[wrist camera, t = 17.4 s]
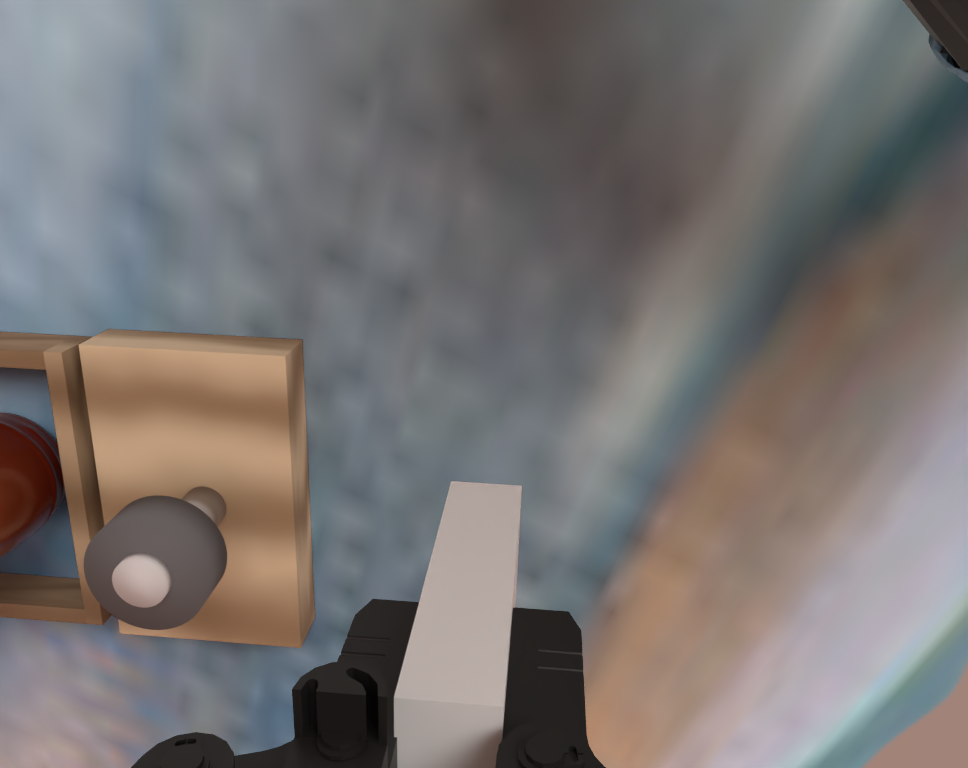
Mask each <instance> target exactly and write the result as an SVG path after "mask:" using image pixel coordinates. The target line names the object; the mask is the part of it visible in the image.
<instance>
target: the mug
mask: <svg viewBox="0 0 968 768" xmlns="http://www.w3.org/2000/svg"><path fill="white" fill-rule="evenodd" d="M65 495H66V492H65V486H64V479H63V473H62V467H61V461H60V454H59V448H58V444H57V442H56V441H55V440H54V439H53V438H52V436H51V435H50V434H49V433H48V432H46V431H45V430H44V429H43V428H42V427H40V426H39V425H37V424H36V423H34V422H32V421H30V420H28V419H26V418H24V417H21V416H18V415H15V414H10V413H0V559H1V558H2V557H3V556H5V555H6V554H7V553H9V552H10V551H11V550H13V549H14V548H15V547H17V546H18V545H19V544H20V543H22V542H23V541H24V540H25V539H27V538H28V537H29V536H30V535H31V534H32V533H34V532H35V531H37V530H38V529H40V528H41V527H42V526H43V525H44V524H46V522H47V521H48V520H49V519H50V517H51V516H52V515H53V514H54V513H55V511H56V510H57V509H58V507H59V505H60V504H61V502H62V501H63V499H64V498H65Z"/></svg>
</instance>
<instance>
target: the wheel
mask: <svg viewBox="0 0 968 768" xmlns="http://www.w3.org/2000/svg"><path fill="white" fill-rule="evenodd" d="M226 565H227V549H226V544H225V541H224V538H223V536H222V534H221V532H220V530H219V529H218V527H217V526H216V524H215V523H214V522H213V521H212V519H211V518H210V517H209V516H208V515H207V514H205V513H204V512H203V511H202V510H200V509H199V508H197V507H196V506H194V505H193V504H191V503H189V502H187V501H184V500H181V499H179V498H175V497H171V496H163V495H154V496H147V497H143V498H139V499H137V500H134V501H133V502H131V503H129V504H128V505H127V506H125V507H124V508H123V509H122V510H121V511H120V512H119V513H118V514H117V515H116V516H115V517H113V518H112V519H111V520H110V521H109V522H108V523H107V524H106V525H105V526H104V527H103V528H102V529H101V530H100V531H99V532H98V533H97V534H96V535H95V536H94V537H93V538H92V539H91V541H90V543H89V544H88V546H87V549H86V551H85V556H84V564H83V566H84V574H85V578H86V581H87V584H88V587H89V589H90V590H91V592H92V594H93V595H94V597H95V598H96V600H97V601H98V602H99V603H100V604H101V606H102V607H104V608H105V609H106V610H107V611H108V612H109V613H110V614H112V615H113V616H115V617H116V618H118V619H119V620H121V621H123V622H125V623H127V624H130V625H132V626H135V627H139V628H143V629H149V630H166V629H171V628H175V627H178V626H181V625H183V624H185V623H187V622H188V621H189V620H191V619H192V618H193V617H194V616H195V615H196V614H197V613H198V612H199V611H200V609H201V608H202V606H203V605H204V603H205V602H206V600H207V599H208V597H209V596H210V595H211V593H212V592H213V590H214V589H215V587H216V586H217V584H218V583H219V581H220V580H221V579H222V577H223V575H224V572H225V569H226Z"/></svg>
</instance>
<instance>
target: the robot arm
mask: <svg viewBox="0 0 968 768" xmlns="http://www.w3.org/2000/svg"><path fill="white" fill-rule="evenodd" d="M903 1H904V3H905V4H906V5H907V6H908V8H909V9H910V10H911V11H912V13H913V14H914V15H915V16H916V18H917V19H918V20H919V21H920V23H921V24H922V25H923V26H924V27H925V29H926V30H927V31H928V32H929V34H930V35H929V44H930V47H931V49H932V50H933V52H934V54H935V55H936V57H937V58H938V60H939V61H940V62H941V64H942V65H943V66H944V67H945V68H946V69H948V70H949V71H950V72H951V73H954V74H956V75H958V76H959V77H960V78H961V79H963V80H964V81H965V82H968V0H903ZM521 492H522V486H517V485H502V484H486V483H471V482H456V481H451V484H450V488H449V492H448V495H447V499H446V503H445V507H444V510H443V514H442V518H441V522H440V526H439V529H438V533H437V537H436V541H435V544H434V548H433V552H432V556H431V559H430V563H429V567H428V571H427V574H426V578H425V582H424V586H423V590H422V593H421V597H420V601H419V602H408V601H394V600H381V599H372V600H371V601H370V602H369V603H368V604H367V605H366V606H365V607H364V608H363V609H361V610H360V611H359V612H358V613H357V614H356V615H355V617H354V620H353V622H352V625H351V627H350V630H349V633H348V637H347V639H346V640H345V643H344V646H343V648H342V651H341V655H340V656H339V659H338V661H337V662H332V663H329V664H326V665H323V666H319V667H316V668H314V669H313V670H311V671H310V672H308V673H307V674H305V675H304V676H302V677H301V678H300V679H299V681H298V682H297V683H296V685H295V686H294V687H293V689H292V696H293V713H294V729H295V738H294V740H293V741H291V742H289V743H286V744H284V745H282V746H280V747H277V748H273V749H269V750H266V751H261V752H255V753H249V754H244V755H238V756H234V753H233V751H232V750H231V748H230V746H229V745H228V743H227V742H226V741H224V740H223V739H221V738H219V737H217V736H215V735H213V734H205V733H197V732H195V733H189V734H183V735H177V736H175V737H172V738H170V739H168V740H165V741H163V742H161V743H158V744H157V745H156V746H154V747H153V748H152V749H151V750H149V751H148V752H147V753H145V754H144V755H143V756H142V757H141V758H140V759H139V760H138V761H137V762H136V763H135V764H134V765H133V766H132V767H131V768H606V767H604V766H603V765H602V764H601V763H600V762H599V760H598V759H597V758H596V757H595V756H594V754H593V752H592V750H591V749H590V747H589V744H588V740H587V735H586V716H585V696H584V676H583V657H582V637H581V630H580V628H579V627H578V625H577V624H576V622H575V621H574V619H573V618H572V616H571V615H570V613H569V612H566V611H553V610H539V609H526V608H515V603H516V586H517V568H518V549H519V530H520V511H521Z"/></svg>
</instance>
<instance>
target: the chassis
mask: <svg viewBox="0 0 968 768" xmlns="http://www.w3.org/2000/svg"><path fill="white" fill-rule="evenodd" d="M0 367H8V368H25V369H42V370H46V373H47V379H48V386H49V392H50V398H51V404H52V411H53V417H54V423H55V429H56V436H57V442H58V448H59V454H60V461H61V467H62V473H63V479H64V486H65V492H66V498H67V504H68V511H69V517H70V523H71V529H72V536H73V542H74V548H75V554H76V561H77V567H78V573H79V579H77V578H64V577H51V576H38V575H25V574H12V573H0V617H8V618H21V619H33V620H46V621H58V622H71V623H83V624H96V625H103V624H104V623H105V622H106V621H107V620H108V618H109V617H110V616H111V615H112V614H110V613H109V612H108V611H107V610H106V609H105V608H104V607H102V606H101V604H100V603H99V602H98V601H97V600H96V598H95V597H94V595H93V594H92V592H91V590H90V589H89V587H88V584H87V581H86V578H85V574H84V566H83V564H84V556H85V551H86V549H87V546H88V544H89V543H90V541H91V539H92V538H93V537H94V536H95V535H96V534H97V533H98V532H99V531H100V530H101V529H102V528H103V527H104V526H105V525H106V524H107V523H108V522H109V521H110V520H111V519H112V518H113V517H115V516H116V515H117V514H118V513H119V512H120V511H121V510H122V509H123V508H124V507H125V506H127V505H128V504H129V503H131V502H133V501H134V500H137V499H139V498H143V497H147V496H154V495H163V496H171V497H175V498H179V499H181V500H184V501H187V502H189V503H191V504H193V505H194V506H196V507H197V508H199V509H200V510H202V511H203V512H204V513H205V514H207V515H208V516H209V517H210V518H211V519H212V521H213V522H214V523H215V524H216V526H217V527H218V529H219V530H220V532H221V534H222V536H223V538H224V541H225V544H226V549H227V565H226V569H225V572H224V575H223V577H222V579H221V580H220V581H219V583H218V584H217V586H216V587H215V589H214V590H213V592H212V593H211V595H210V596H209V597H208V599H207V600H206V602H205V603H204V605H203V606H202V608H201V609H200V611H199V612H198V613H197V614H196V615H195V616H194V617H193V618H192V619H191V620H189V621H188V622H187V623H185V624H183V625H181V626H178V627H175V628H171V629H166V630H149V629H143V628H139V627H135V626H132V625H130V624H127V623H125V622H123V621H121V620H119V619H118V623H119V629H120V633H122V634H134V635H147V636H159V637H171V638H184V639H196V640H209V641H221V642H234V643H246V644H259V645H271V646H284V647H296V648H301V647H302V645H303V642H304V640H305V638H306V636H307V634H308V632H309V629H310V627H311V625H312V623H313V621H314V618H315V603H314V581H313V559H312V537H311V516H310V494H309V472H308V450H307V429H306V407H305V385H304V364H303V342H302V340H299V339H281V338H263V337H245V336H226V335H208V334H190V333H172V332H153V331H135V330H117V329H107V330H105V331H104V332H102V333H100V334H98V335H96V336H94V337H88V336H70V335H52V334H34V333H16V332H0Z"/></svg>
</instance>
